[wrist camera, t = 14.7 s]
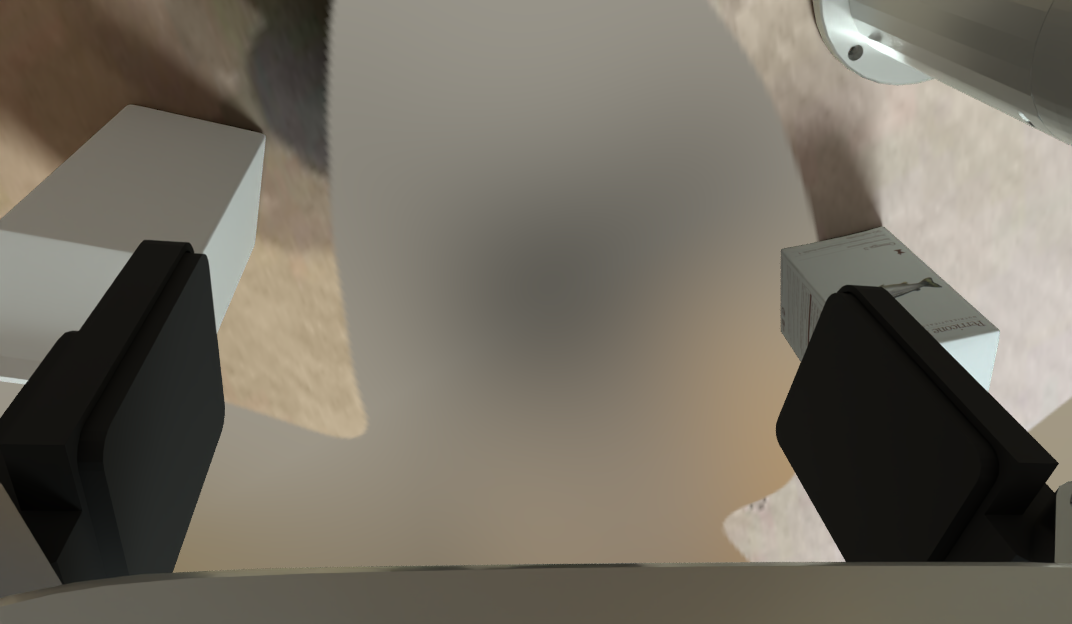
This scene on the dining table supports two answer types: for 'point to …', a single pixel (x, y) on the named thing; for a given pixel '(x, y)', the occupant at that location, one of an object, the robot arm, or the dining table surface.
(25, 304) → the milk carton
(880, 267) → the supplement box
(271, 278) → the dining table surface
